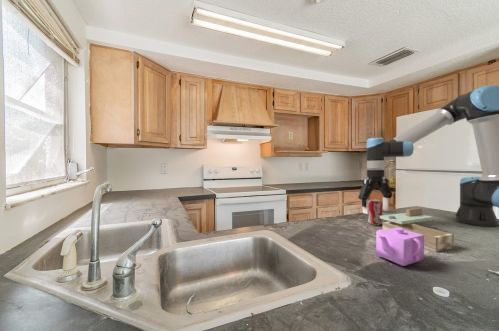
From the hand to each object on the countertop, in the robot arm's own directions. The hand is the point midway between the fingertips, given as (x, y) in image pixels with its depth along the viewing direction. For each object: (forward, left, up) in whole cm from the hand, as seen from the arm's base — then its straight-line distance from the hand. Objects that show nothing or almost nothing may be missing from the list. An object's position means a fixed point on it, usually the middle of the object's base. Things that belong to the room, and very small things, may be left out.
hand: (376, 212), depth 108 cm
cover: (-4, +12, -1) cm, 13 cm away
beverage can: (0, 0, -6) cm, 6 cm away
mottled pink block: (+28, +31, -6) cm, 42 cm away
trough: (+5, +22, -6) cm, 23 cm away
